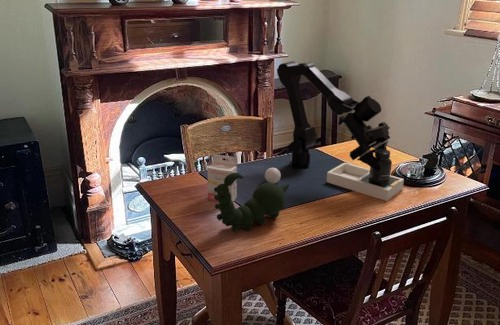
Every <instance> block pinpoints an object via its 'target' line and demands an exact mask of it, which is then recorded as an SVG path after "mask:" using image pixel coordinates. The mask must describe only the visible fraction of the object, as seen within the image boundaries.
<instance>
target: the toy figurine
mask: <svg viewBox="0 0 500 325" xmlns="http://www.w3.org/2000/svg"><path fill="white" fill-rule="evenodd" d="M236 179H237V180H238V179H240V180H242V179H244V177H243V175H242V174H241V173H239V172H237V173H231V174H229V175H227V176H226V177H225V179H224V184H220V185H218V186H217V187H215V188H214V191H215V192H217V194H218V195H215V196H214V198H215V200H218V203H216V204H215V205H214V207H215V209H216V210H219V211H220V213H218V214H217V215H216V219H217V221H221V222H222V224H224V225H225V226H226V227H230V226H231V228H232V231H234V232H235V233H236V232H238V231H240V228H244V229H245V230H246V231H247V232H248V231H249V232H250V231H253V224H254V223H257V224H258V225H259V226H264V225H265V224H266V222H267V221H266V218H265V217H266V216H267V217H269V218H271V219H276V218H278V217H279V215H280V212H281V211H282V210H284V209H285V203H286V202H285V201H286V197H285V196H286V195H285V193H286V192H287V191H288V188H289V187H290V184H283V185H278V184H277V183H269V182H264V183H262V184H260V185H259V186H257V187H256V188H255V190H254V191H253V194H252V198H249V199H248V200H246V201H245V202H244V204H243V205H239V206H238V207H237V208H236V207H235V206H234V205H235V204H234V202H233V201H232V200H231V194H230V193H229V187H228V186H230V185H231V184H233V182H234V181H235V180H236Z"/></svg>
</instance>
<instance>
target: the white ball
mask: <svg viewBox="0 0 500 325" xmlns="http://www.w3.org/2000/svg"><path fill="white" fill-rule="evenodd" d="M281 175H282V174H281V171H280V170H279V169H278V168H277V167H269V168H268V169H266V171H265V172H264V179H265V181H266V183H274V184H277V183H278V182H279V181H280V180H281Z"/></svg>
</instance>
